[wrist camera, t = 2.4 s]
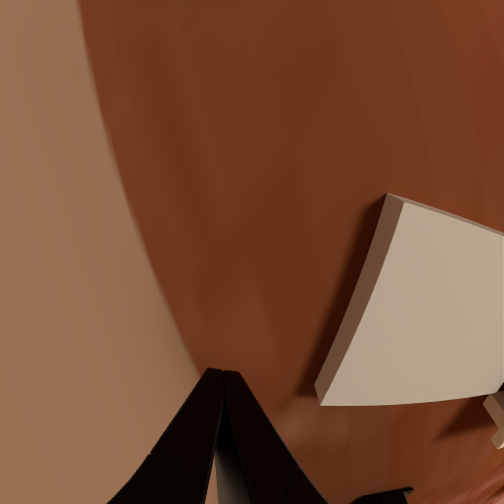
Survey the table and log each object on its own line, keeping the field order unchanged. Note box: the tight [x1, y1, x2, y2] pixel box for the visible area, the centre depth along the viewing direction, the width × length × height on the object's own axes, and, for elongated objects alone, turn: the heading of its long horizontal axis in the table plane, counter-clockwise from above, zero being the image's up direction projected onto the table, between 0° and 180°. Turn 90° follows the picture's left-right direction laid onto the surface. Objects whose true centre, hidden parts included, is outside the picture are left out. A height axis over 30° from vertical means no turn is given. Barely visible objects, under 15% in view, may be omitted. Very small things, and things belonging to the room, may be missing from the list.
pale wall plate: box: [314, 193, 504, 406], centre depth 14 cm, size 10×14×2 cm
